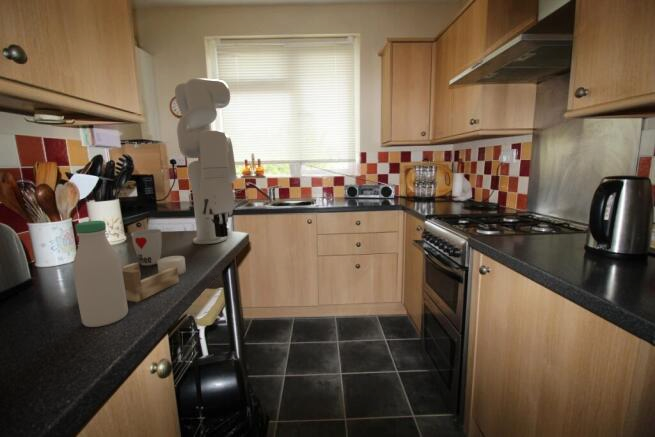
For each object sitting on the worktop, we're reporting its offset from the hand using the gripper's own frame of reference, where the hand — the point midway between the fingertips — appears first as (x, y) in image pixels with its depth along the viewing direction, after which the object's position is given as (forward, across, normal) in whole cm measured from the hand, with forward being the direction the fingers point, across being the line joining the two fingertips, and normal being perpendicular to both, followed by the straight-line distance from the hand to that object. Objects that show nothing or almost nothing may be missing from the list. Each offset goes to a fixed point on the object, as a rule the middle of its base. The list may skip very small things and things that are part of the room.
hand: (221, 236), depth 93 cm
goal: (+9, +20, -11) cm, 25 cm away
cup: (+9, +4, -25) cm, 27 cm away
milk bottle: (+10, +34, -3) cm, 36 cm away
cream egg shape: (+9, +9, -11) cm, 17 cm away
